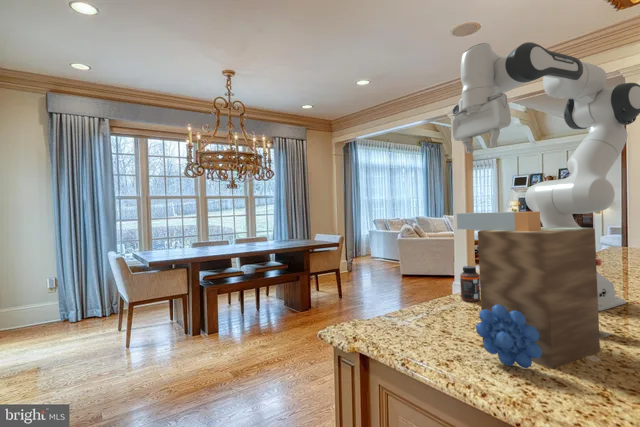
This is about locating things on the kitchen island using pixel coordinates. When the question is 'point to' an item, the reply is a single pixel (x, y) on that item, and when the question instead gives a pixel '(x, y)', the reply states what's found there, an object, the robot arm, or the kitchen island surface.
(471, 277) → the supplement bottle
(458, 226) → the grey and tan bar
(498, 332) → the blue flower
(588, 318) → the tall wooden block
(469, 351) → the kitchen island surface
